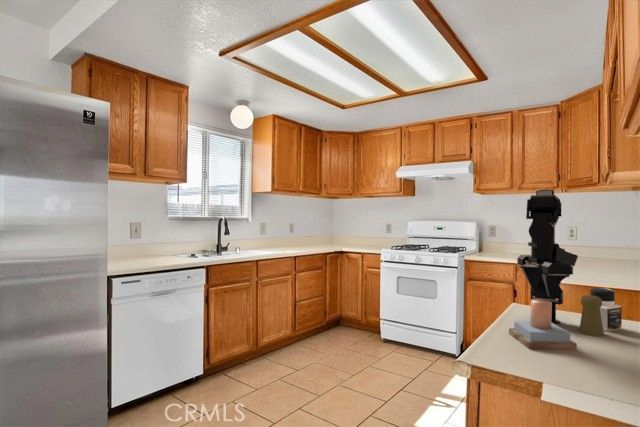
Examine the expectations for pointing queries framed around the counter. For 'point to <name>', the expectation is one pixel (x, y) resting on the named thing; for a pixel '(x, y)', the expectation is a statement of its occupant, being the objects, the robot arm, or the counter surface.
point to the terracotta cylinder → (541, 314)
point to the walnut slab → (542, 343)
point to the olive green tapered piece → (591, 316)
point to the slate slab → (541, 332)
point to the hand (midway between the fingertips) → (542, 294)
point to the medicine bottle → (608, 309)
